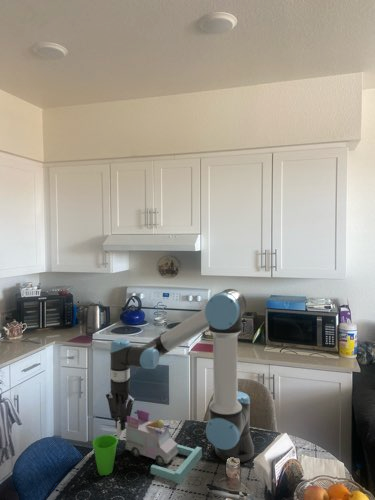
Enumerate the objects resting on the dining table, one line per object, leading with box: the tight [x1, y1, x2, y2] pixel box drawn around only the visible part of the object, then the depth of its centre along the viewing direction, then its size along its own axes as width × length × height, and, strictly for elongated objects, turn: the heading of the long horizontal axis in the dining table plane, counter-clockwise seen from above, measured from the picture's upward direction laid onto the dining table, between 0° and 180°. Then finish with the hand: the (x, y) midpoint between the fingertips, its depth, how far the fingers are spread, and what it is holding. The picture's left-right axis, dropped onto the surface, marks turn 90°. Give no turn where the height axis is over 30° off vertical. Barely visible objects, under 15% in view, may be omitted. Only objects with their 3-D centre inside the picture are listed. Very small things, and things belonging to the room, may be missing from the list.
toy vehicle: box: [124, 409, 179, 466], centre depth 144 cm, size 9×20×15 cm, turn 60°
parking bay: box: [150, 443, 203, 485], centre depth 139 cm, size 12×18×4 cm, turn 153°
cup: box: [91, 434, 119, 476], centre depth 135 cm, size 9×9×11 cm
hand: (120, 437), depth 150 cm, fingers closed
